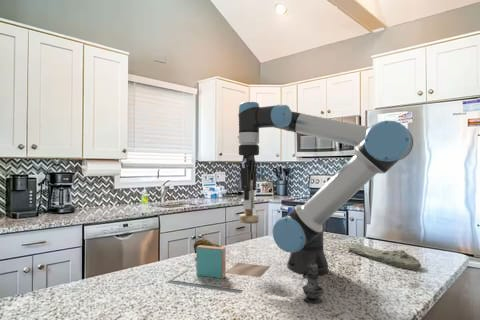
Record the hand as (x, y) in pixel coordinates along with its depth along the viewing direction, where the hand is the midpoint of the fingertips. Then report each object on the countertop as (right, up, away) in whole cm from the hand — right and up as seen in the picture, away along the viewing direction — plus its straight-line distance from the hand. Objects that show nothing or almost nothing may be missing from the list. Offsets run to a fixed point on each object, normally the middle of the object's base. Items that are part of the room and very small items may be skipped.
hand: (248, 208), depth 125 cm
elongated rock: (+56, -24, +18) cm, 64 cm away
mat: (-13, -23, -11) cm, 29 cm away
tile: (-13, -23, -7) cm, 27 cm away
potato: (-17, -24, +19) cm, 35 cm away
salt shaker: (+18, -23, -26) cm, 39 cm away
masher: (0, -5, 0) cm, 5 cm away
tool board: (0, -23, 0) cm, 23 cm away
